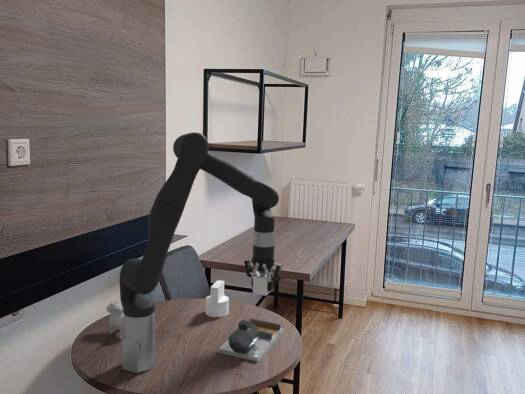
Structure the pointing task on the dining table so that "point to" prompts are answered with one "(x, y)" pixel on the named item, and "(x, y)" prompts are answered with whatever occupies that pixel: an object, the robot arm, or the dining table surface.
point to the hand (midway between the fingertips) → (262, 289)
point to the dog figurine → (116, 318)
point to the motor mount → (252, 339)
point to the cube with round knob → (260, 284)
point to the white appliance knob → (217, 301)
